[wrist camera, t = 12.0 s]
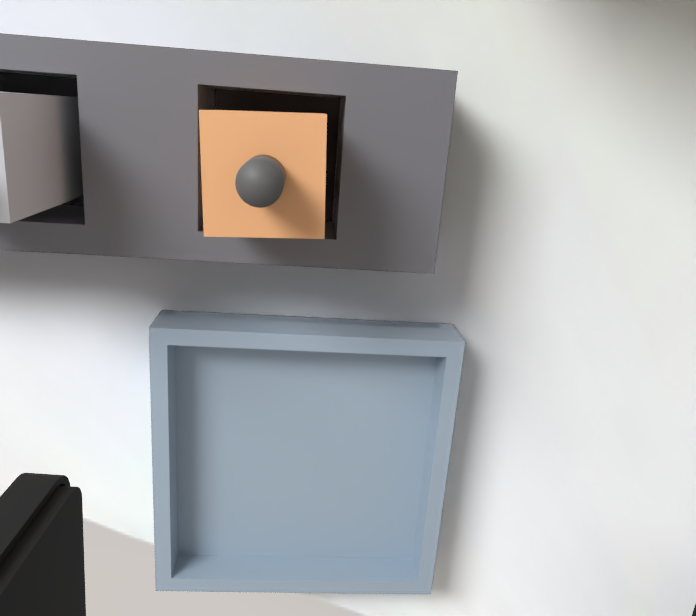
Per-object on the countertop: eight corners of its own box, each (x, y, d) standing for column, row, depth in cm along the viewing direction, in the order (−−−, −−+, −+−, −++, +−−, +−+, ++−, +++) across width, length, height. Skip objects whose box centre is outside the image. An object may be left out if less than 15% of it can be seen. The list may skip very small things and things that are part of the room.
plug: (320, 113, 28) (329, 114, 18) (319, 201, 29) (326, 251, 19) (232, 110, 28) (187, 110, 17) (234, 199, 29) (193, 249, 19)
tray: (452, 324, 32) (465, 342, 29) (422, 560, 36) (430, 593, 33) (161, 310, 30) (148, 327, 28) (166, 556, 35) (155, 590, 32)
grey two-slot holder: (434, 77, 28) (457, 71, 24) (416, 250, 30) (434, 273, 26) (-128, 31, 26) (-214, 15, 22) (-100, 221, 28) (-173, 240, 24)
